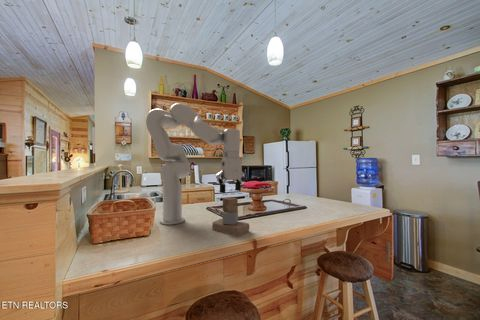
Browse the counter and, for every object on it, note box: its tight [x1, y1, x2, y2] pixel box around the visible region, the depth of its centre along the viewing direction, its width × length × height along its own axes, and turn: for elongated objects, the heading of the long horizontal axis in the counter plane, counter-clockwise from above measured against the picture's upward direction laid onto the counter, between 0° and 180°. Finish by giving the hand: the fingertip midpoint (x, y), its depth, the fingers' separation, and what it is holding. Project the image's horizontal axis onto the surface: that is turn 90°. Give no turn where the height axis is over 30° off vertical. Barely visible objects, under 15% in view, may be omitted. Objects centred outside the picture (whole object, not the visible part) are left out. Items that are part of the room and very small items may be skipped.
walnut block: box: [222, 196, 239, 213], centre depth 105 cm, size 5×5×6 cm
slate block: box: [222, 210, 239, 225], centre depth 104 cm, size 6×6×5 cm
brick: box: [211, 218, 250, 237], centre depth 105 cm, size 17×8×5 cm, turn 55°
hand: (230, 191), depth 106 cm, fingers open, 9 cm apart
